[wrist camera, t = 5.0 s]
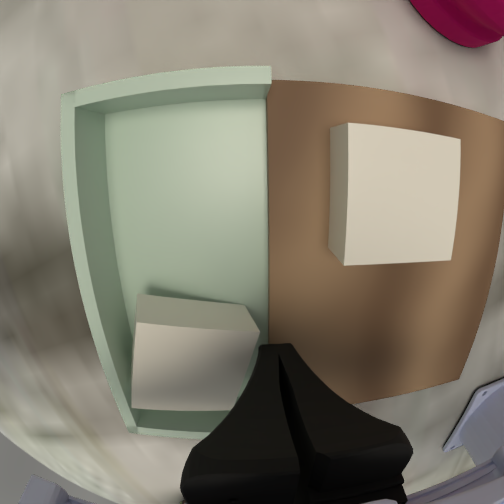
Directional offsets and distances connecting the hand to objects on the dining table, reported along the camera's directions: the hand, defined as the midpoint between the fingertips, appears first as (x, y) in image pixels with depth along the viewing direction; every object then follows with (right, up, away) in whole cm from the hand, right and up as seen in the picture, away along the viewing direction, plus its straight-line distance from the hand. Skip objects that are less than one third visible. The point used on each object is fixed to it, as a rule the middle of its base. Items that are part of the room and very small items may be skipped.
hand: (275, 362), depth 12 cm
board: (+6, +4, +1) cm, 7 cm away
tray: (-4, +4, +1) cm, 5 cm away
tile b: (+4, +7, -1) cm, 8 cm away
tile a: (-4, +1, 0) cm, 4 cm away
